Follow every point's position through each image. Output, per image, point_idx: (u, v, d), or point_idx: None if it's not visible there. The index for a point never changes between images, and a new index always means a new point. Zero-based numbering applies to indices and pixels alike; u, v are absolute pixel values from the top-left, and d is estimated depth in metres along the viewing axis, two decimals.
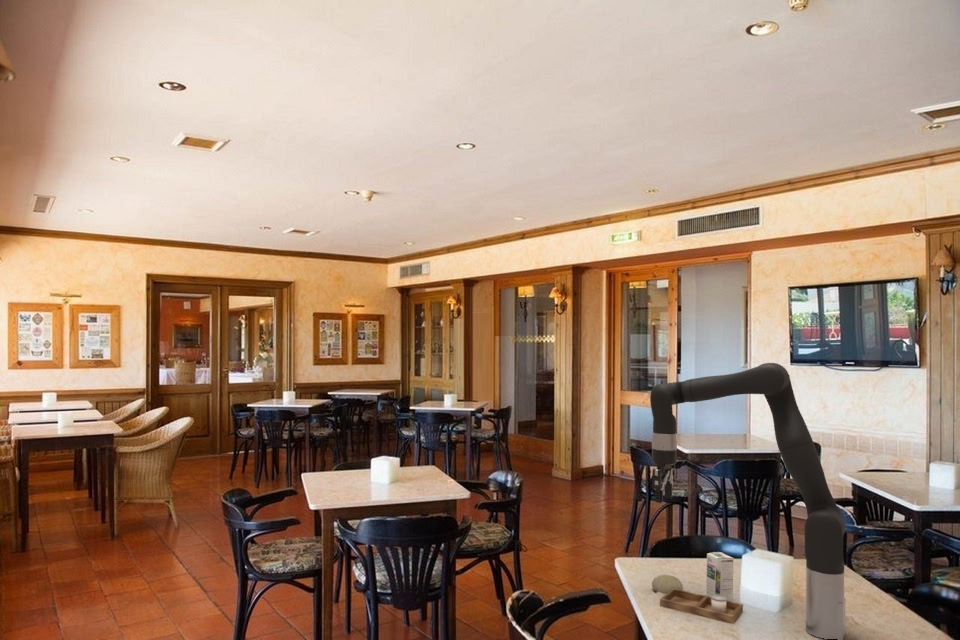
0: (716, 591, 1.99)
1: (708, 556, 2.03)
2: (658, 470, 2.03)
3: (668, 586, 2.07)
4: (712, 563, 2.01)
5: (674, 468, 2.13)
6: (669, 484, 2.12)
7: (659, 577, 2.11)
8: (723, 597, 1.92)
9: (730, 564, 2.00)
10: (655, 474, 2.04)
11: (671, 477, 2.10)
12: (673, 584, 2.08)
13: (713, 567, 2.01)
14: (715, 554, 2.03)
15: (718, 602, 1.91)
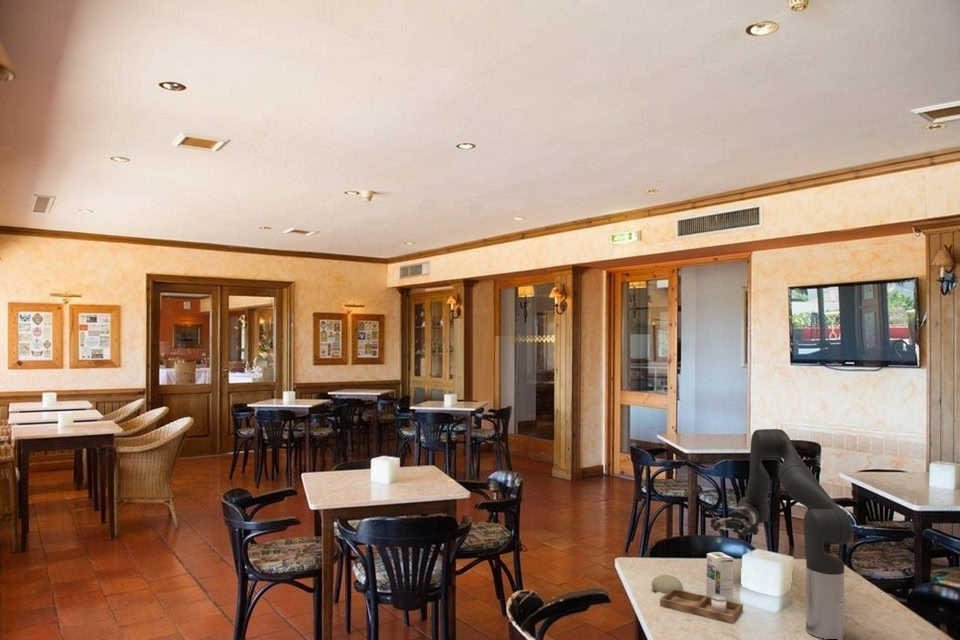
0: (716, 591, 1.99)
1: (708, 556, 2.03)
2: None
3: (668, 586, 2.07)
4: (712, 563, 2.01)
5: (756, 523, 2.16)
6: None
7: (659, 577, 2.11)
8: (723, 597, 1.92)
9: (730, 564, 2.00)
10: None
11: (741, 521, 2.16)
12: (673, 584, 2.08)
13: (713, 567, 2.01)
14: (715, 554, 2.03)
15: (718, 602, 1.91)
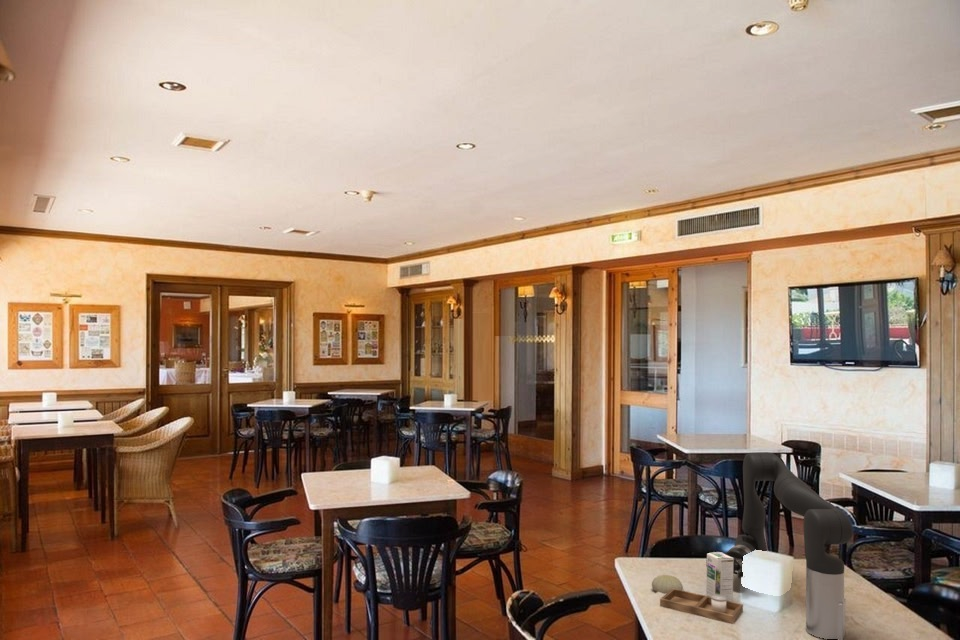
0: (716, 591, 1.99)
1: (708, 556, 2.03)
2: None
3: (668, 586, 2.07)
4: (712, 563, 2.01)
5: None
6: None
7: (659, 577, 2.11)
8: (723, 597, 1.92)
9: (730, 564, 2.00)
10: None
11: (737, 562, 2.11)
12: (673, 584, 2.08)
13: (713, 567, 2.01)
14: (715, 554, 2.03)
15: (718, 602, 1.91)
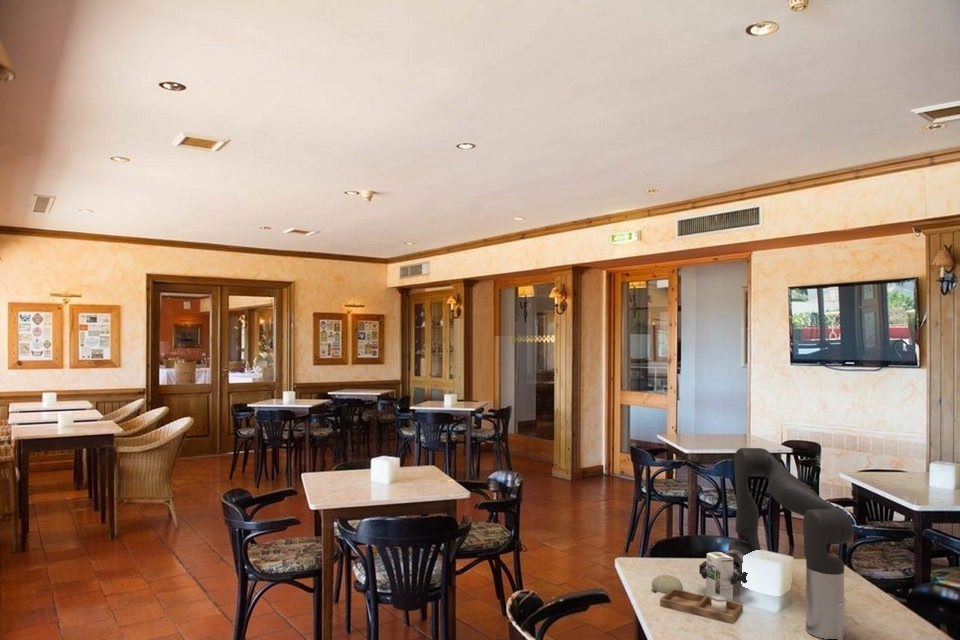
0: (716, 591, 1.99)
1: (708, 556, 2.03)
2: None
3: (668, 586, 2.07)
4: (712, 563, 2.01)
5: None
6: None
7: (659, 577, 2.11)
8: (723, 597, 1.92)
9: (730, 564, 2.00)
10: None
11: None
12: (673, 584, 2.08)
13: (713, 567, 2.01)
14: (715, 554, 2.03)
15: (718, 602, 1.91)
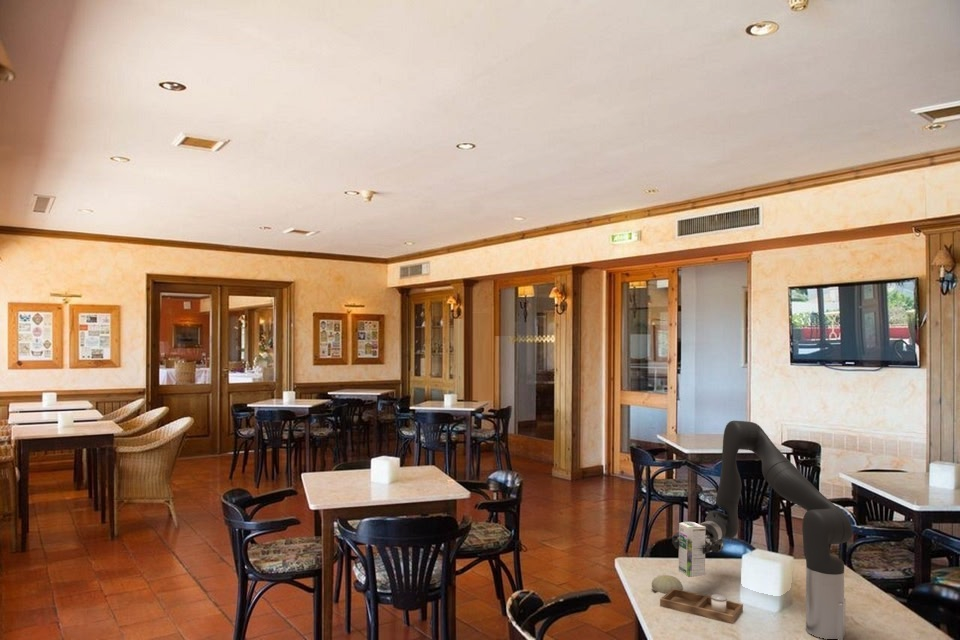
0: (687, 560, 1.97)
1: (680, 525, 2.01)
2: None
3: (668, 586, 2.07)
4: (684, 533, 1.99)
5: (720, 540, 2.02)
6: None
7: (659, 577, 2.11)
8: (723, 597, 1.92)
9: (702, 533, 1.98)
10: None
11: None
12: (673, 584, 2.08)
13: (685, 536, 1.98)
14: (687, 523, 2.01)
15: (718, 602, 1.91)
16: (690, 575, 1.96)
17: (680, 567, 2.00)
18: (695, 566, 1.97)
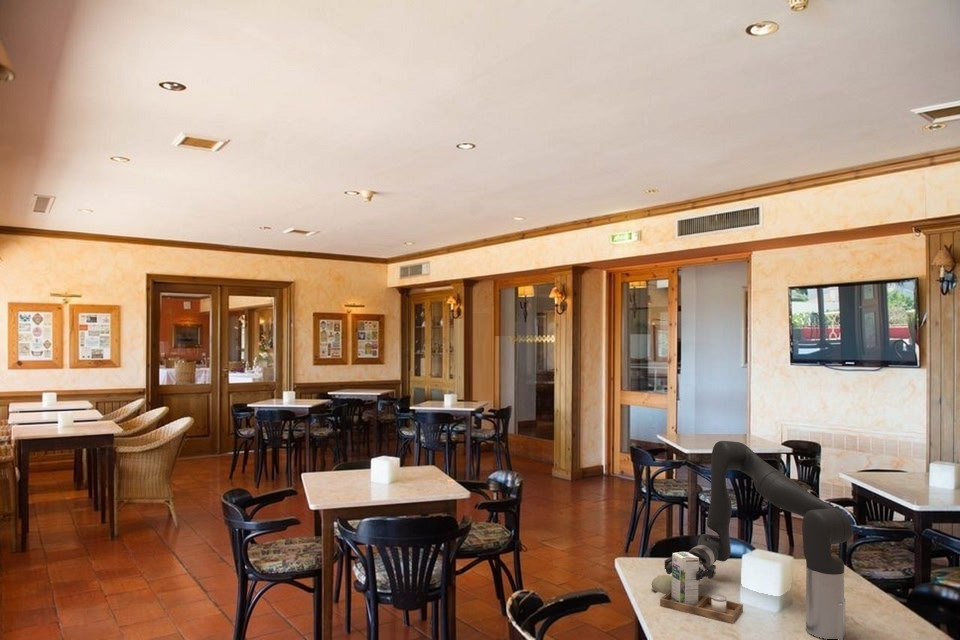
0: (680, 591, 1.95)
1: (673, 556, 2.00)
2: None
3: (668, 586, 2.07)
4: (677, 563, 1.98)
5: (712, 566, 2.01)
6: None
7: (659, 577, 2.11)
8: (723, 597, 1.92)
9: (695, 564, 1.96)
10: None
11: None
12: None
13: (678, 567, 1.97)
14: (680, 554, 1.99)
15: (718, 602, 1.91)
16: None
17: (673, 598, 1.99)
18: (688, 597, 1.95)
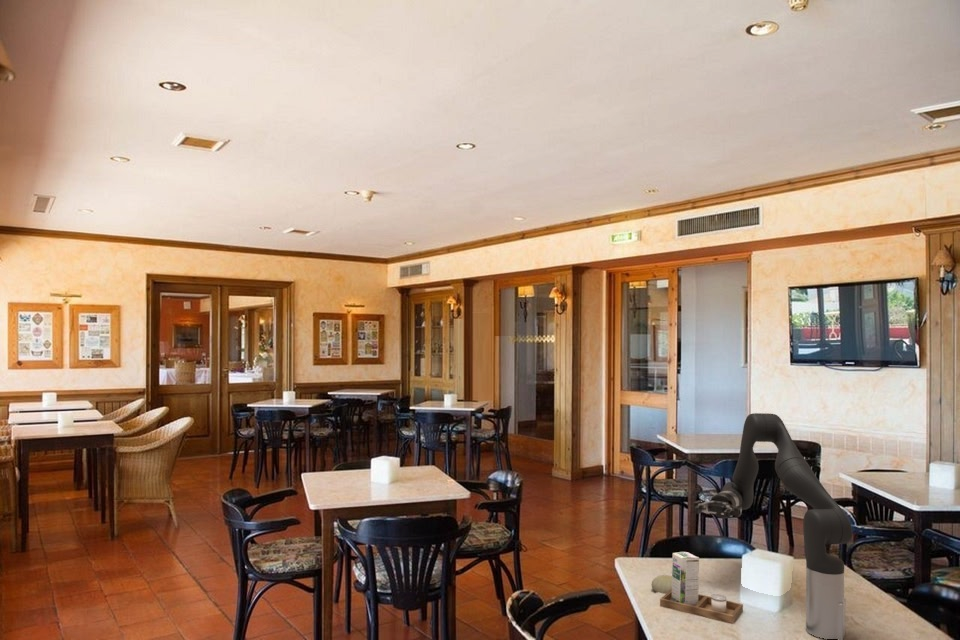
0: (681, 591, 1.95)
1: (674, 556, 2.00)
2: None
3: (667, 586, 2.07)
4: (677, 563, 1.97)
5: (739, 506, 2.13)
6: None
7: (659, 577, 2.11)
8: (723, 597, 1.92)
9: (695, 564, 1.96)
10: None
11: (724, 504, 2.14)
12: None
13: (679, 567, 1.97)
14: (681, 554, 1.99)
15: (718, 602, 1.91)
16: None
17: (673, 598, 1.99)
18: (688, 597, 1.95)
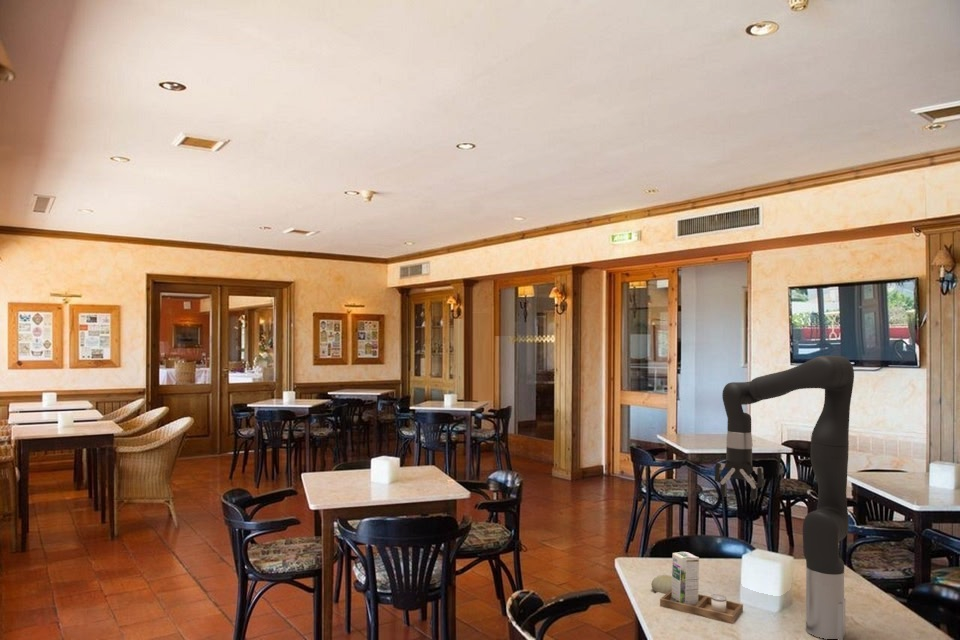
0: (681, 591, 1.95)
1: (673, 556, 2.00)
2: (717, 463, 2.13)
3: (667, 586, 2.07)
4: (677, 563, 1.97)
5: (759, 472, 2.05)
6: None
7: (659, 577, 2.11)
8: (723, 597, 1.92)
9: (695, 564, 1.96)
10: None
11: (744, 477, 2.07)
12: None
13: (679, 567, 1.97)
14: (681, 554, 1.99)
15: (718, 602, 1.91)
16: None
17: (673, 598, 1.99)
18: (688, 597, 1.95)
